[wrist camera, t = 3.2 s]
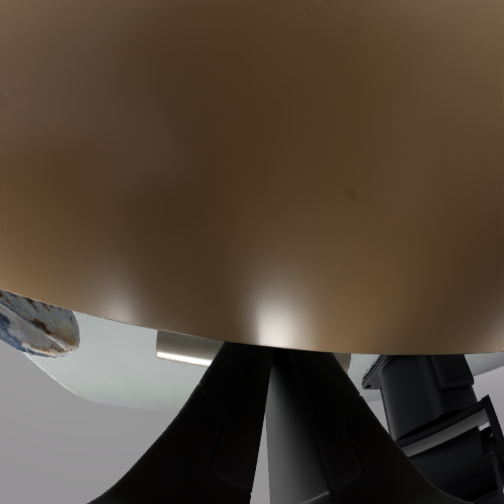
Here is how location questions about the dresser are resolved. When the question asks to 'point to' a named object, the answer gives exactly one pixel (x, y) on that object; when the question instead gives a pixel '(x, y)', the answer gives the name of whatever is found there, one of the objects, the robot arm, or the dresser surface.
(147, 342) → the dresser surface
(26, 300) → the seashell
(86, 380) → the dresser surface
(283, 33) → the cabinet
